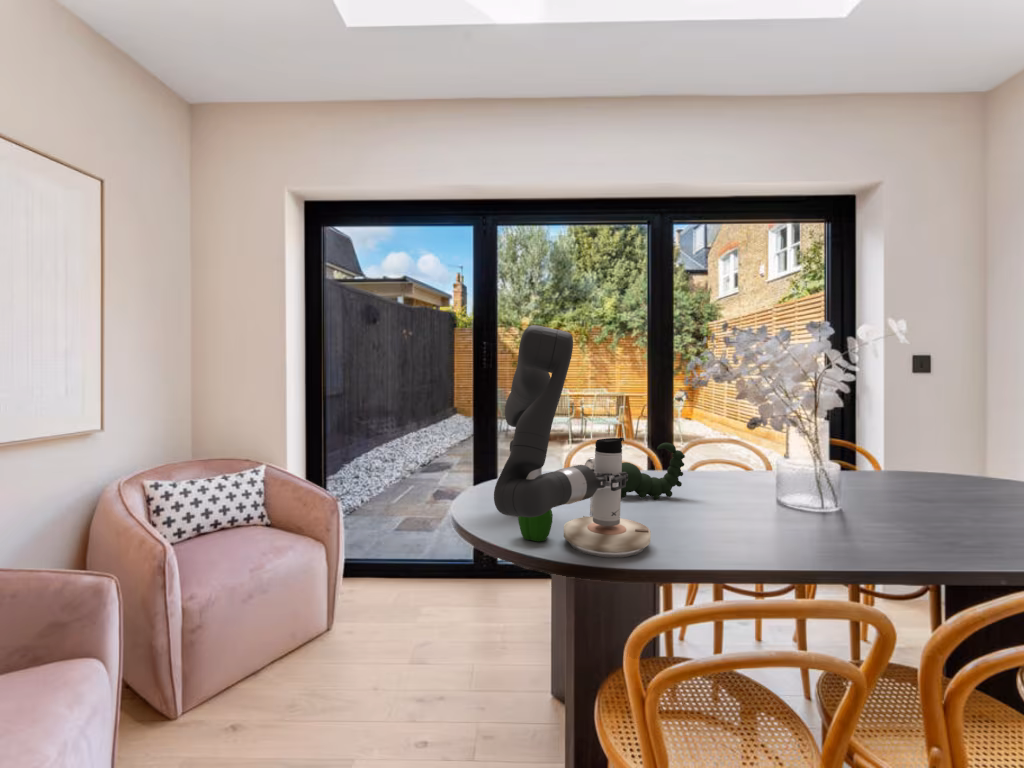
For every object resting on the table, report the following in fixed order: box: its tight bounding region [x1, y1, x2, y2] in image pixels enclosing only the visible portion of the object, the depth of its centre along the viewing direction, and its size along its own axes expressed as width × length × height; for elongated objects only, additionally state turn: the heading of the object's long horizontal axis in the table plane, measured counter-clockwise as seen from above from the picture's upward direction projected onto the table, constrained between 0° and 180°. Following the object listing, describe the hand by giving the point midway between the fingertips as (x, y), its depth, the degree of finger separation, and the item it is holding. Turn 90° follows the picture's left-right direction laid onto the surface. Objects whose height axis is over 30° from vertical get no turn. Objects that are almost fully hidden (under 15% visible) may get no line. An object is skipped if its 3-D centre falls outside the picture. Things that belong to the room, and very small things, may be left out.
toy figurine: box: [621, 442, 686, 501], centre depth 171 cm, size 9×19×25 cm
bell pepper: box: [517, 509, 554, 542], centre depth 130 cm, size 8×8×10 cm
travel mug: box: [593, 436, 625, 526], centre depth 126 cm, size 6×7×20 cm
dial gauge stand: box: [582, 456, 595, 517], centre depth 141 cm, size 6×8×18 cm
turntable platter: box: [563, 516, 652, 552], centre depth 126 cm, size 20×20×2 cm
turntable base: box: [569, 542, 644, 559], centre depth 127 cm, size 17×17×1 cm
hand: (613, 474), depth 128 cm, fingers closed on travel mug, 6 cm apart
